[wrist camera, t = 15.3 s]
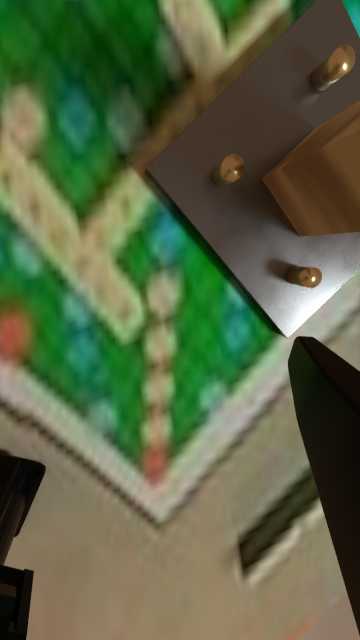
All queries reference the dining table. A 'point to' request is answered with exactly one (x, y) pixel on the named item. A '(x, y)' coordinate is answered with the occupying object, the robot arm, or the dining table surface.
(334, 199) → the wood block
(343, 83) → the standoff plate
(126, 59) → the dining table surface
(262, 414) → the dining table surface
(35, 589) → the dining table surface
